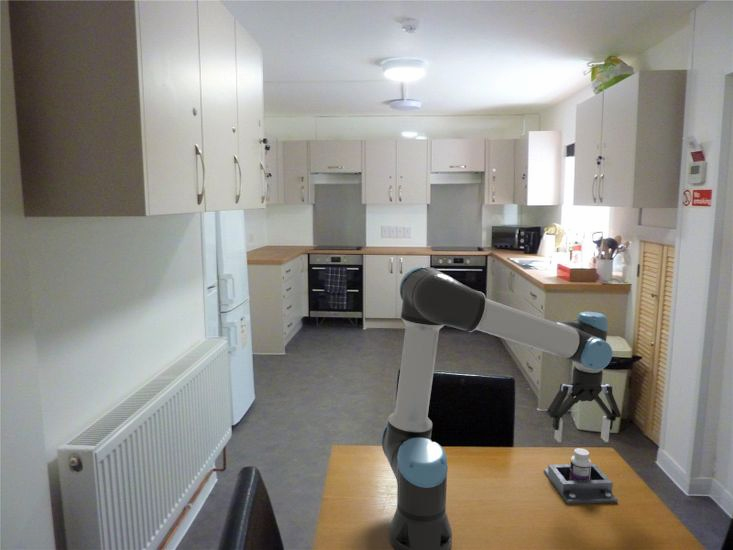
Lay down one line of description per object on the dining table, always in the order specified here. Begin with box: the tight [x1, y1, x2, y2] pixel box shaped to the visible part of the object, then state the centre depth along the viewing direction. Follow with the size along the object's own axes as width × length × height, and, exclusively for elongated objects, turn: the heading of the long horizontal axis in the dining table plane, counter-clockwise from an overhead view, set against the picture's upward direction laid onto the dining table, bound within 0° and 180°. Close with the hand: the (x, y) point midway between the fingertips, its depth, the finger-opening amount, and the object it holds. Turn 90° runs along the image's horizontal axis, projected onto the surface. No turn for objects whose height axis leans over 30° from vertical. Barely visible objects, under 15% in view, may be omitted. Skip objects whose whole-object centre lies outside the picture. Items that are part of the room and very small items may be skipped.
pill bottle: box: [570, 447, 592, 481], centre depth 143 cm, size 5×5×10 cm
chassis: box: [543, 463, 619, 505], centre depth 144 cm, size 16×14×4 cm
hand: (581, 440), depth 142 cm, fingers open, 13 cm apart
